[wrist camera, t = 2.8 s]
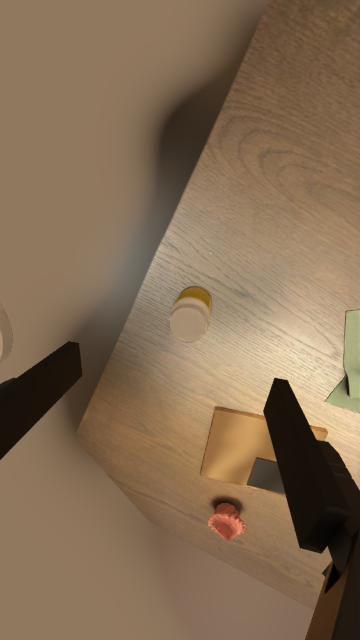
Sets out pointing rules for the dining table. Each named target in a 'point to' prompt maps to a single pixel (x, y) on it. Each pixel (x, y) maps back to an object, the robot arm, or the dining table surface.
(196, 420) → the dining table surface
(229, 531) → the pink ruffled round piece
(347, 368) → the cloth
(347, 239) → the dining table surface
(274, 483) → the board
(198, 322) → the supplement bottle
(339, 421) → the dining table surface
